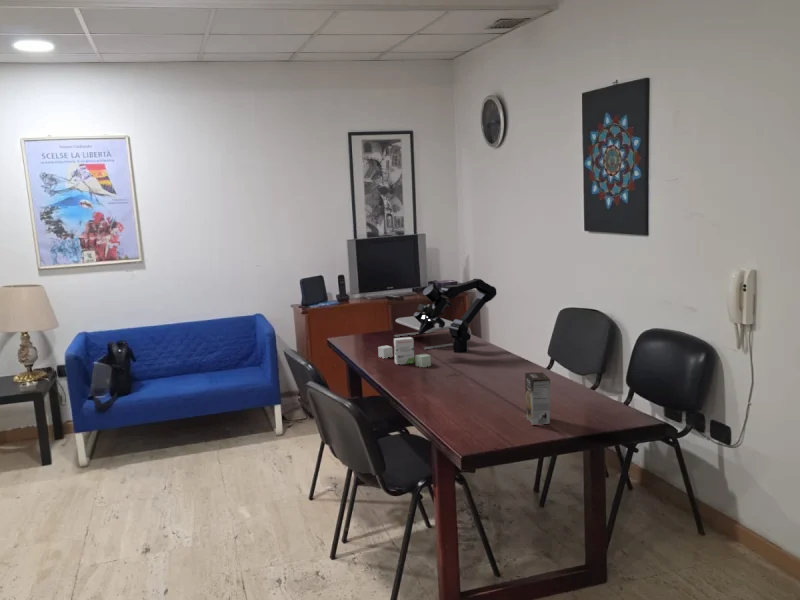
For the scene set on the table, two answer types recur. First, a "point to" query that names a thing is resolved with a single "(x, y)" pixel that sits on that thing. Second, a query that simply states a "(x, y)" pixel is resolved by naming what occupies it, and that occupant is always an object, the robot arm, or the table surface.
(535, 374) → the coffee box
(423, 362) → the sage block
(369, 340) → the table surface
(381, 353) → the grey block
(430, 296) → the robot arm
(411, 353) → the ink box
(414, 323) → the monitor stand
